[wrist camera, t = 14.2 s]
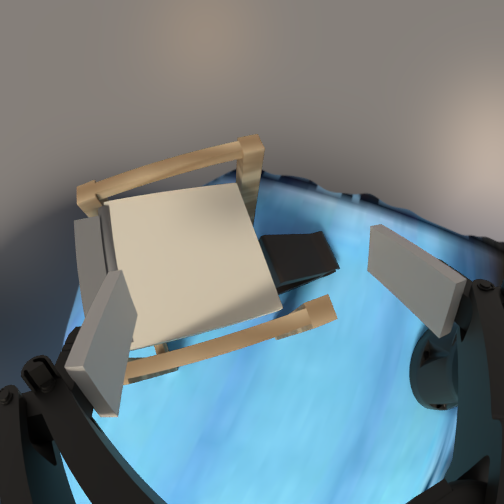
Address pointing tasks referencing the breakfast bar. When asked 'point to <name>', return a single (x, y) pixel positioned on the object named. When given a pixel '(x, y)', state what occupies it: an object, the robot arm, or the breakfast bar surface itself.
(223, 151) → the trapdoor frame
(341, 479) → the breakfast bar surface
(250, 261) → the trapdoor
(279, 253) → the phone stand
